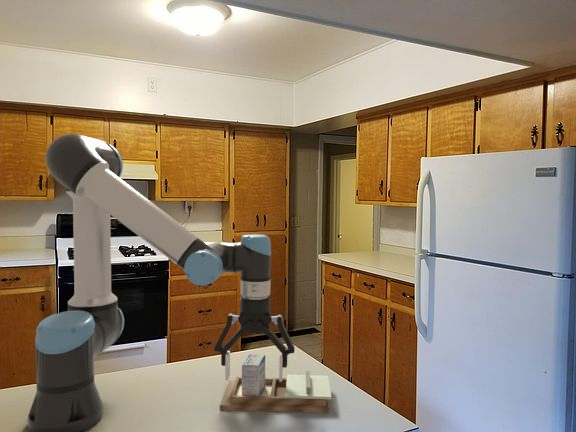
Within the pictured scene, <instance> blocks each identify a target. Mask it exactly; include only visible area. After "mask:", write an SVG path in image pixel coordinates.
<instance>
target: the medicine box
mask: <svg viewBox="0 0 576 432" xmlns="http://www.w3.org/2000/svg"><path fill="white" fill-rule="evenodd" d="M241 377H242V396H261V394H262V392H263V389H264V387H265V378H266V355H265V354H259V353H250V354H249V355H248V357H247V358H246V359H245V361H244V362H243V364H242V365H241Z"/></svg>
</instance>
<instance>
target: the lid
mask: <svg viewBox="0 0 576 432" xmlns="http://www.w3.org/2000/svg"><path fill="white" fill-rule="evenodd" d="M286 378H287V382H286V396H285V398H302V399H327V400H332V392H331V386H330V385H331V384H330V380H329V379H330V378H329V375H322V374H321V375H318V374H315V375H313V374H311V373H310V370H306V371H305V374H288V373H287V374H286Z"/></svg>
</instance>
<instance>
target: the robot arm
mask: <svg viewBox="0 0 576 432" xmlns="http://www.w3.org/2000/svg"><path fill="white" fill-rule="evenodd" d="M44 159H45V165H46V168H47V170H48V172H49V173H50V174H51V176H52V177H53V178H54V179H55V180H56V181H57V182H58V183H59V184H61V185H62V186H63V187H65V192H66V195H68V196H69V197H70V198H71V199H72V212H73V213H72V218H73V220H72V221H73V223H72V224H73V225H72V227H73V229H72V231H73V277H74V278H73V279H74V282H73V283H74V286H73V287H74V288H73V289H74V290H73V291H74V294H73V296H72V297H71V298H70V299H69V300H68V301H67V310H66V311H61V312H59V313H54V314H51V315H49V316H47V317H45V318H43V320H41V321H40V322H39V324H38V325H37V327H36V331H35V333H36V334H35V339H34V346H35V367H36V368H35V369H36V370H35V377H36V392H35V395H34V397H33V401H32V404H31V407H30V409H29V413H28V415H27V430H28V431H29V432H84V431H85V430H88V429H90V428H92V427H93V426H94V425H95V424H97V423H98V422H99V421H100V420H101V419H102V417H103V414H104V412H103V409H104V407H103V405H104V404H103V401H102V399H101V396H100V392H99V391H98V388H97V386H96V382H95V359H96V358H97V357H98V356H99V355H100V354H101V353H103V352H104V351H105V350H107V349H108V348H110V347H111V346H113V344H115V342H117V340H118V339H119V338H120V336H121V335H122V332H123V330H124V327H125V317H124V314H123V311H122V310H121V308H119V306H118V305H119V304H118V301H119V300H118V296H117V295H115V294H114V293H113V292H112V256H111V255H112V254H111V253H112V248H111V247H112V245H111V244H112V242H111V238H112V237H111V235H112V233H111V216H112V217H113V218H114V219H115V220H117V221H118V222H120V223H121V224H122V225H123V226H124V227H126V228H127V229H129V230H130V231H131V232H133V233H134V234H136V235H137V236H138V237H139V238H141V239H142V240H144V241H145V242H146V243H148V244H149V245H150V246H151V247H153V249H156V250H157V251H158V252H160V253H161V254H162V255H163V256H165V257H166V258H167V259H169V260H170V261H171V262H173V263H174V264H175V265H177V266H178V267H180V269H182V270H183V271H184V274H185V277H186V278H187V279H188V281H189V282H190V283H192V284H193V285H197V286H202V287H203V286H208V285H210V284H212V283H215V281H217V280H218V279H219V278H220V277H221V276H222V274H224V273H234V274H235V273H236V274H237V273H239V274H240V295H241V297H240V300H239V301H240V302H239V303H240V304H239V305H240V306H239V310H240V311H239V315H235V314H234V313H232V312H230V313H229V314H228V316H227V318H226V324H225V327H224V328H223V331H222V332H221V334H220V336H219V338H218V339H217V342H216V344H215V346H214V347H213V350H214V352H219V353H220V355H221V358H220V359H221V360H220V361H221V362H220V363H221V366H222V367H224V369H225V370H224V372H225V373H224V377H225V379H224V380H225V381H229V379H230V376H231V350H230V349H231V347H233V345H235V343H237V341H238V340H239V339H240V338H241V336H242V335H243V334H244V333H245V332H246V334H247V333H248V334H251V335H252V334H257V335H260V334H262V333H264V335H265V336H266V337H267V338H268V339H269V340H270V341H271V342H272V343H273V345H274V346H275V347H276V349H277V350H278V351H279V366H278V367H279V369H278V371H279V372H278V373H279V375H278V378H279V382H282V378H284V376H283V375H284V374H283V372H284V371H283V370H284V368H287V367H288V356H289V355H290V354H294V353H295V350H296V349H295V345H294V343H293V341H292V338H291V337H290V334H289V333H288V331H287V328H286V327H285V324H284V323H283V315H282V314H277V315H273V316H272V314H271V298H270V295H271V282H272V281H271V270H272V268H271V267H272V244H271V238H270V236H268V235H266V234H257V233H255V234H244V235H242V236H241V238H240V241H238V242H220V241H219V242H218V241H217V242H216V241H203V240H201V239H200V238H199V237H198V236H197V235H195V234H194V233H192V232H191V231H190V230H189V229H188V228H186V227H185V226H183V225H182V224H181V223H180V222H178V221H177V220H176V219H174V218H173V217H172V216H170V215H169V214H168V213H166V212H165V211H164V210H163V209H162V208H160V207H158V206H157V205H156V204H155V203H153V202H152V201H150V200H149V199H148V198H147V197H145V196H144V195H142V194H141V193H140V192H138V191H137V190H136V189H135V188H134V187H132V186H131V185H130V184H128V183H127V182H126V181H124V180H123V179H122V178H120V177H121V175H122V173H123V169H124V165H123V159H122V156H121V154H120V152H119V151H118V150H117V149H116V148H115V147H114V146H113V145H111V144H110V143H108V142H106V141H104V140H102V139H99V138H98V139H97V138H93V137H89V136H85V135H82V134H78V133H67V134H63V135H60V136H58V137H57V138H55V139H54V140H52V141H51V143H50V144H49V146H48V147H47V150H46V151H45V157H44ZM237 321H238V323H239V324H240V325H241V326H240V327H239V328H238V330H237V331H236V332H235V333H234V334H233V335H232V337H230V339H229V340H228V341H227V342H226V343H225V344H224V345H222V344H223V342H224V340H225V338H226V337H227V335H228V332H229V331H230V328H231V327H232V325H234V324H235V323H237ZM271 322H272V323H273V324H274V325H275V326H277V329H278V330H279V332H280V335H281V337H282V339H283V341H284V343H285V345H284V343H283V342H282V340H281V339H280V338H279V337H278V336H277V334H276V333H275V332H274V331H273V329H272V328H271V326H270V324H271Z"/></svg>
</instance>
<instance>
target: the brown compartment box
mask: <svg viewBox="0 0 576 432" xmlns="http://www.w3.org/2000/svg"><path fill="white" fill-rule="evenodd" d="M235 378H236V379H235V380H228V382H227V385H226V387H225V390H224V393H223V396H222V398H221V401H220V404H219V410H224V411H225V410H229V411H256V412H257V411H259V412H260V411H262V412H287V413H288V412H291V413H292V412H293V413H294V412H295V413H323V414H324V413H325V414H328V413H329V404H328V403H329V402H328V399H302V398H285V396H286V382H287V377H285V378H284V377H283V378H282V382H279V377H265V387H264V389H263V392H262V394H261V396H242V376H236V377H235Z"/></svg>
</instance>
